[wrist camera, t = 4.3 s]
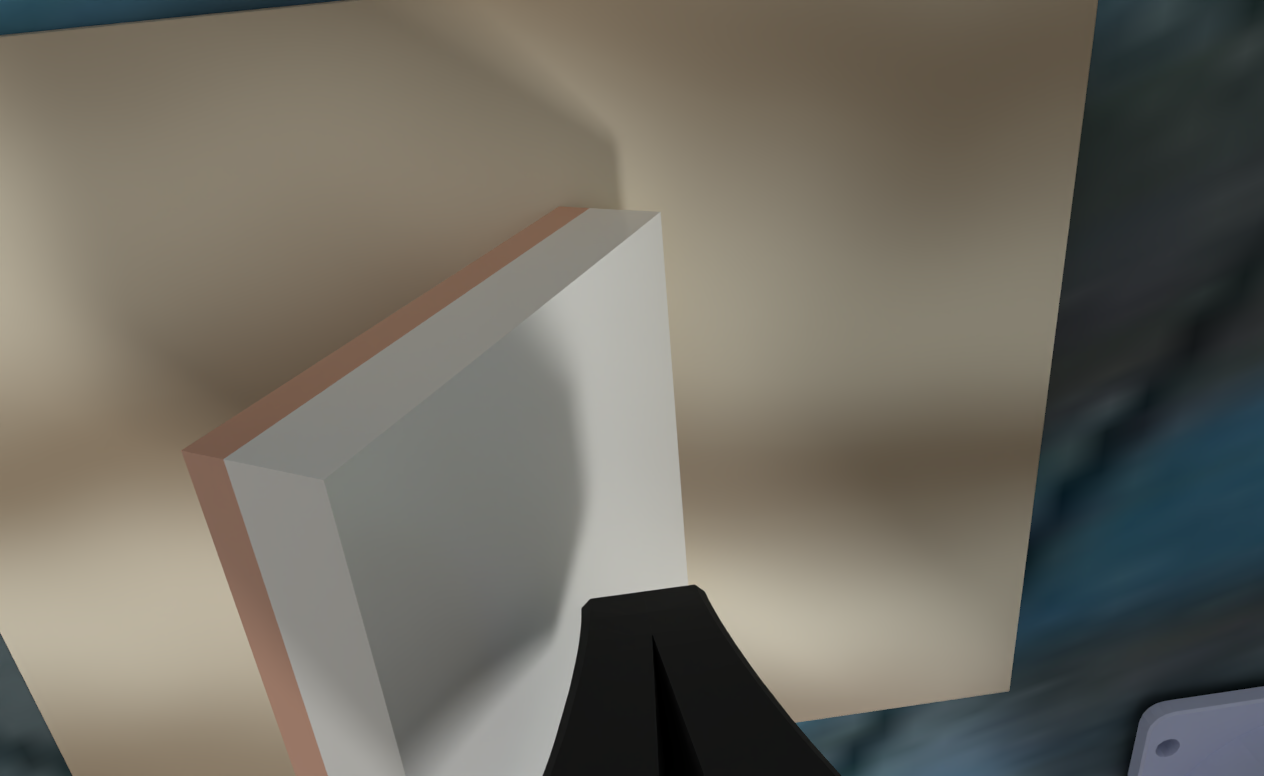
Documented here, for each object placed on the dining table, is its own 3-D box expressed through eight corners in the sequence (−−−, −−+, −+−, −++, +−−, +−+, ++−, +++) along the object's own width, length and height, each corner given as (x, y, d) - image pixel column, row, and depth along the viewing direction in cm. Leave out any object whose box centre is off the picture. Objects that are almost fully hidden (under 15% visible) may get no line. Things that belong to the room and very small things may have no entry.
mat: (1002, 680, 20) (1009, 691, 19) (103, 811, 19) (97, 824, 18) (1096, -77, 13) (1108, -75, 13) (-269, 62, 12) (-286, 66, 12)
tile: (693, 650, 17) (479, 1043, 12) (611, 630, 18) (373, 993, 12) (660, 211, 13) (324, 479, 8) (558, 206, 14) (181, 450, 8)
